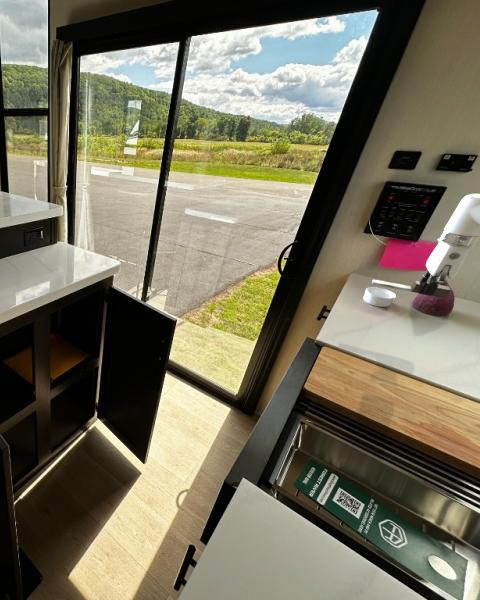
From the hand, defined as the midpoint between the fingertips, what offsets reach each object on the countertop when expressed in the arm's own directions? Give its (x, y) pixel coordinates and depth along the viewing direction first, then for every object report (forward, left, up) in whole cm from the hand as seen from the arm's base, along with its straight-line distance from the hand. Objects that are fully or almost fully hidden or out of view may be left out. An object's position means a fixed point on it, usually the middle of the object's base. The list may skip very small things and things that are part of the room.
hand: (423, 291), depth 102 cm
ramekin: (+6, -15, -14) cm, 21 cm away
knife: (+4, 0, 0) cm, 4 cm away
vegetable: (-10, -19, -14) cm, 25 cm away
